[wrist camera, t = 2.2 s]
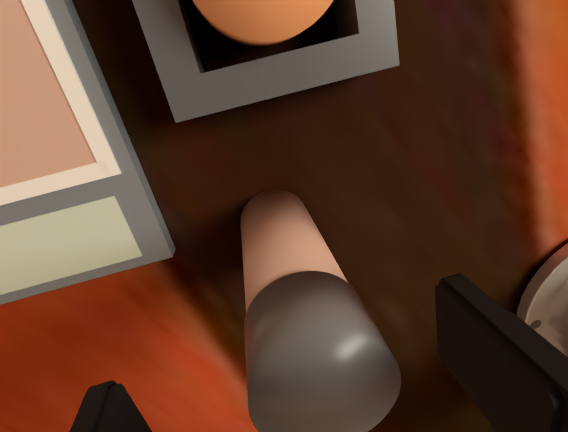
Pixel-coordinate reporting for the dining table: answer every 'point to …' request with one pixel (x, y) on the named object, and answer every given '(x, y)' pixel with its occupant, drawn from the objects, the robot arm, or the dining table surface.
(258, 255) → the marker
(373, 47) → the button housing
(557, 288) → the robot arm
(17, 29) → the picture board
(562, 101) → the dining table surface
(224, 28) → the button
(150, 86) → the dining table surface
